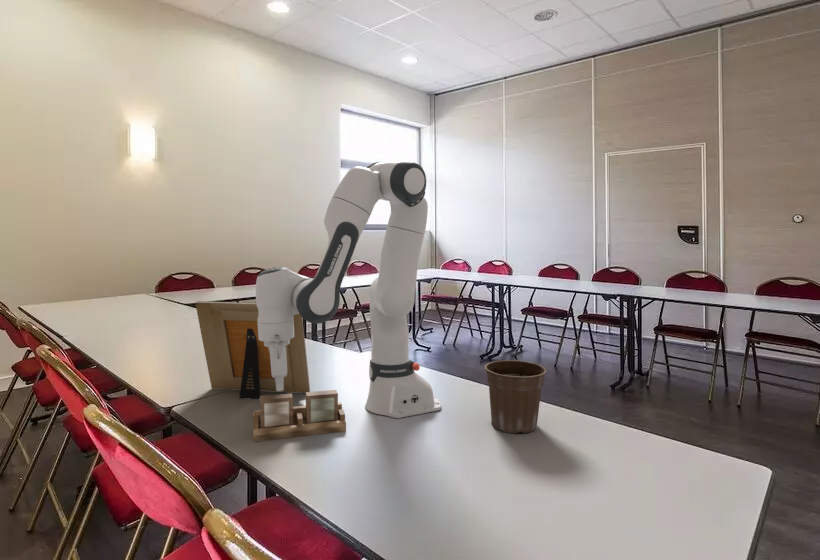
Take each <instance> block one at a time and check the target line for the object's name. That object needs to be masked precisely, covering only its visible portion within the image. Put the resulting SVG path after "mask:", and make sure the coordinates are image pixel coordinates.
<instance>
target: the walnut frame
mask: <svg viewBox="0 0 820 560" xmlns="http://www.w3.org/2000/svg"><path fill="white" fill-rule="evenodd" d="M293 399H294V398H293V392H290V393H283V394H271V395H270V394H269V395H261V396H260V399H259V410H260V429H262V428H271V427H281V426H291V425H293V407H294V403H293V402H294V400H293Z"/></svg>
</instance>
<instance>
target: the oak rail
mask: <svg viewBox="0 0 820 560" xmlns="http://www.w3.org/2000/svg"><path fill="white" fill-rule="evenodd" d="M252 413H253V416H252V417H253V421H252V422H253V423H252V425H253V429H252V431H253V434H252V435H253V437H252V438H253V439H252V441H253V442H259V441H260V442H261V441H269V440H280V439H289V438H296V437H297V438H298V437H305V436H306V437H307V436H308V437H309V436H316V435H317V436H318V435H323V434H324V435H325V434H333V433H342V432H347V421H346V414H345V411H344V409H343V404H342V402H339V401H338V421H329V422H320V423H310V424H306V406H300V405H297V406H293V425H291V426H281V427H271V428H262V429H260V409H254V410H253V411H252Z"/></svg>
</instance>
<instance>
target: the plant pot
mask: <svg viewBox="0 0 820 560" xmlns="http://www.w3.org/2000/svg"><path fill="white" fill-rule="evenodd" d="M484 370H485V371H486V381H487V383H488V392H489V393H488V394H489V403H490V404H489V405H490V406H489V407H490V419H491V420H490V421H491V423H490V424H491V425H493V427H494V428H495V429H496V430H499V431H501V432H504V433H510V434H518V433H523V434H528V433H532V432H533V431H535V430H536V429H537V426H538V420H539V412H540V411H539V410H540V404H541V403H540V402H541V394H542V387H543V386H544V380H545V375H546V374H547V369H546V367H545V366H543V365H541V364H538V363H534V362H530V361H524V360H512V359H510V360H508V359H506V360H496V361H490V362H488V363H486V364H485V365H484Z"/></svg>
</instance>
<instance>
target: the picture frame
mask: <svg viewBox="0 0 820 560" xmlns="http://www.w3.org/2000/svg"><path fill="white" fill-rule="evenodd" d="M194 304H195V308H196V314H197V319H198V324H199V329H200V334H201V339H202V344H203V350H204V351H203V352H204V355H205V360H206V365H207V371H208V376H209V380H210V381H209V382H210V386H211V389H220V390H236V391H237V390H239V396H238V397H239V399H243V398H250V399H249V400H260V396H262V393H261V392H276V393H278V392H280V393H295V394H296V393H298V394H301V393H302V394H306V392H311V386H310V377H309V368H308V357H307V349H306V340H305V330H304V329H305V327H304V318H303V317H302V316H301V315H300V314H295V315H294V316H293V320H294V337H293V338H292V339H290V340H289V341H290V344H288V345H286V346H285V347H286V359H287V376H285V377H284V390H283V391H277V390H276V382H275V378H273V377H272V374H271V362H270V354H269V349H268V347H266V346H264V342H263V341H260V340H259V339H258V324H257V319H258V308H257V305H256V302H240V301H239V302H238V301H237V302H234V301H232V302H231V301H205V300H204V301H202V300H201V301H200V300H199V301H195V303H194Z"/></svg>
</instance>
